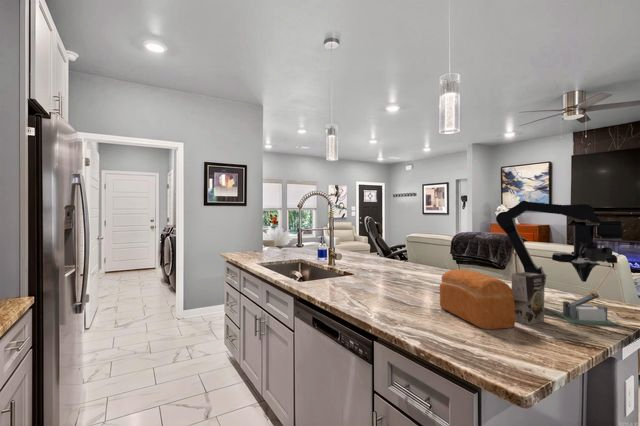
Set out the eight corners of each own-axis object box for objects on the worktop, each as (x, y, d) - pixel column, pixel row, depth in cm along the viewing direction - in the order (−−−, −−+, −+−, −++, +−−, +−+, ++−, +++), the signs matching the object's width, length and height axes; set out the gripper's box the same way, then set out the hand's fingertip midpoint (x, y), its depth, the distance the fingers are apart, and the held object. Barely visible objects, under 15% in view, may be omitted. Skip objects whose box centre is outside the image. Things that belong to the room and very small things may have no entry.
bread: (467, 305, 131) (467, 265, 131) (519, 328, 105) (519, 279, 105) (436, 307, 128) (436, 266, 128) (481, 331, 102) (481, 280, 102)
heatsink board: (571, 323, 110) (572, 307, 110) (555, 313, 120) (555, 299, 119) (615, 325, 108) (615, 308, 108) (594, 315, 118) (594, 300, 118)
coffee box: (529, 325, 107) (529, 276, 107) (510, 319, 113) (510, 273, 113) (545, 321, 111) (545, 274, 111) (526, 316, 117) (526, 271, 117)
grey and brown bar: (570, 309, 113) (568, 305, 113) (566, 307, 115) (564, 303, 116) (599, 297, 112) (596, 292, 112) (594, 295, 114) (592, 290, 114)
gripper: (570, 240, 111) (570, 286, 112) (630, 240, 110) (630, 287, 110) (551, 237, 123) (551, 279, 123) (605, 238, 121) (605, 280, 121)
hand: (583, 281), depth 119 cm, fingers closed
